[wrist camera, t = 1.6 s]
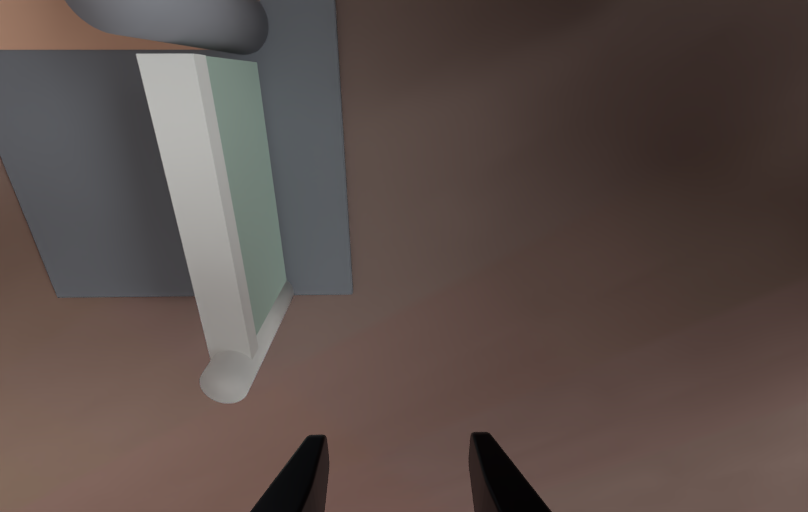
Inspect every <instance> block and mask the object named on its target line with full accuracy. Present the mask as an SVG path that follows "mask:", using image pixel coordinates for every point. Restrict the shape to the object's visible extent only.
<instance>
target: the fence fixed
mask: <svg viewBox="0 0 808 512" xmlns="http://www.w3.org/2000/svg"><path fill="white" fill-rule="evenodd" d="M65 2H66V3H67V4H68V6H69V7H70V8H71V9H72V10H73V11H74V12H75V13H76V14H77V15H78V16H79V17H80V18H81V19H82V20H84V21H85V22H86V23H88V24H89V25H91V26H92V27H94V28H96V29H98V30H100V31H103V32H106V33H110V34H115V35H121V36H127V37H134V38H140V39H146V40H152V41H159V42H165V43H171V44H177V45H184V46H190V47H196V48H202V49H209V50H215V51H221V52H227V53H234V54H240V55H248V54H252V53H254V52H256V51H258V50H259V49H260V48H261V47H262V46H263V44H264V43H265V41H266V39H267V36H268V28H269V26H268V18H267V15H266V12H265V10H264V8H263V6H262V5H261V3H260V2H259V1H258V0H65Z"/></svg>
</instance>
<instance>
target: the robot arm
mask: <svg viewBox="0 0 808 512" xmlns="http://www.w3.org/2000/svg"><path fill="white" fill-rule="evenodd" d="M469 471H470V479H471V487H472V495H473V503H474V511H475V512H551V510H550V509H549V508H548V507H547V505H546V504H545V503H544V502H543V500H542V499H541V498H540V496H539V495H538V494H537V493H536V491H535V490H534V489H533V488H532V486H531V485H530V484H529V482H528V481H527V480H526V479H525V477H524V476H523V475H522V474H521V472H520V471H519V470H518V469H517V467H516V466H515V465H514V463H513V462H512V461H511V460H510V458H509V457H508V456H507V455H506V453H505V452H504V451H503V449H502V448H501V447H500V446H499V444H498V443H497V442H496V441H495V439H494V438H493V437H492V435H491V434H490V433H488V432H473V433H472V434H471V437H470V447H469ZM328 474H329V454H328V444H327V438H326V436H325V435H309V436H307V437H306V439H305V440H304V441H303V443H302V444H301V445H300V447H299V448H298V449H297V451H296V452H295V453H294V455H293V456H292V457H291V459H290V460H289V461H288V462H287V464H286V465H285V466H284V468H283V469H282V470H281V472H280V473H279V474H278V476H277V477H276V478H275V480H274V481H273V482H272V484H271V485H270V486H269V488H268V489H267V490H266V492H265V493H264V494H263V496H262V497H261V498H260V499H259V501H258V502H257V503H256V505H255V506H254V507H253V509H252V510H251V511H250V512H324V511H325V502H326V493H327V483H328Z"/></svg>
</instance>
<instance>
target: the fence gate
mask: <svg viewBox="0 0 808 512" xmlns="http://www.w3.org/2000/svg"><path fill="white" fill-rule="evenodd" d="M136 57H137V61H138V65H139V69H140V73H141V77H142V81H143V85H144V89H145V93H146V98H147V102H148V106H149V110H150V114H151V118H152V122H153V126H154V130H155V134H156V139H157V143H158V147H159V151H160V155H161V159H162V163H163V167H164V171H165V175H166V180H167V184H168V188H169V192H170V196H171V200H172V204H173V208H174V212H175V216H176V220H177V225H178V229H179V233H180V237H181V241H182V245H183V249H184V253H185V257H186V261H187V266H188V270H189V274H190V278H191V282H192V286H193V290H194V294H195V298H196V302H197V307H198V311H199V315H200V319H201V323H202V327H203V331H204V335H205V339H206V343H207V348H208V352H209V356H210V360H211V361H210V362H209V364H208V365H207V367H206V368H205V370H204V371H203V373H202V375H201V377H200V387H201V389H202V391H203V392H204V393H205V394H206V395H207V396H208V397H209V398H211V399H212V400H215V401H217V402H220V403H236V402H238V401H241V400H242V399H244V398H245V397H246V395H247V394H248V391H249V389H250V387H251V385H252V383H253V381H254V379H255V377H256V374H257V372H258V370H259V368H260V366H261V364H262V362H263V360H264V358H265V355H266V353H267V351H268V349H269V347H270V345H271V343H272V341H273V338H274V336H275V334H276V332H277V330H278V328H279V326H280V324H281V322H282V319H283V317H284V315H285V313H286V311H287V309H288V307H289V305H290V302H291V300H292V298H293V295H294V291H293V287H292V285H291V284H290V283H289V282H288V281H287V280H286V273H285V265H284V258H283V251H282V243H281V236H280V229H279V221H278V214H277V206H276V199H275V192H274V184H273V177H272V170H271V162H270V155H269V147H268V140H267V133H266V125H265V118H264V111H263V103H262V96H261V88H260V81H259V74H258V66H257V62H251V61H242V60H234V59H226V58H218V57H210V56H206V55H201V54H136Z"/></svg>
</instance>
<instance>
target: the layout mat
mask: <svg viewBox="0 0 808 512" xmlns="http://www.w3.org/2000/svg"><path fill="white" fill-rule="evenodd" d="M258 1H259V2H260V3H261V5H262V6H263V8H264V10H265V12H266V15H267V18H268V26H269V28H268V36H267V39H266V41H265V43H264V44H263V46H262V47H261V48H260V49H259V50H258V51H256V52H254V53H252V54H248V55H240V54H234V53H227V52H221V51H215V50H209V49H202V48H196V47H190V46H184V45H177V44H171V43H165V42H159V41H152V40H146V39H140V38H134V37H127V36H121V35H115V34H110V33H106V32H103V31H100V30H98V29H96V28H94V27H92V26H91V25H89V24H88V23H86V22H85V21H84V20H82V19H81V18H80V17H79V16H78V15H77V14H76V13H75V12H74V11H73V10H72V9H71V8H70V7H69V6H68V4H67V3H66V2H65V0H0V156H1V159H2V161H3V164H4V166H5V169H6V171H7V174H8V176H9V179H10V181H11V184H12V186H13V189H14V191H15V193H16V196H17V198H18V201H19V203H20V206H21V208H22V211H23V213H24V216H25V218H26V221H27V223H28V226H29V228H30V231H31V233H32V236H33V238H34V241H35V243H36V245H37V248H38V250H39V253H40V255H41V258H42V260H43V263H44V265H45V268H46V270H47V273H48V275H49V278H50V280H51V283H52V285H53V288H54V290H55V293H56V295H57V297H58V298H67V297H159V296H195V294H194V290H193V286H192V282H191V278H190V274H189V270H188V266H187V261H186V257H185V253H184V249H183V245H182V241H181V237H180V233H179V229H178V225H177V220H176V216H175V212H174V208H173V204H172V200H171V196H170V192H169V188H168V184H167V180H166V175H165V171H164V167H163V163H162V159H161V155H160V151H159V147H158V143H157V139H156V134H155V130H154V126H153V122H152V118H151V114H150V110H149V106H148V102H147V98H146V93H145V89H144V85H143V81H142V77H141V73H140V69H139V65H138V61H137V57H136V54H201V55H206V56H210V57H218V58H226V59H234V60H242V61H251V62H257V66H258V74H259V81H260V88H261V96H262V103H263V111H264V118H265V125H266V133H267V140H268V147H269V155H270V162H271V170H272V177H273V184H274V192H275V199H276V206H277V214H278V221H279V229H280V236H281V243H282V251H283V258H284V265H285V273H286V280H287V281H288V282H289V283H290V284H291V285H292V287H293V291H294V295H341V294H352V293H353V283H352V267H351V250H350V234H349V217H348V201H347V184H346V168H345V152H344V135H343V119H342V102H341V86H340V69H339V53H338V37H337V20H336V4H335V0H258Z"/></svg>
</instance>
